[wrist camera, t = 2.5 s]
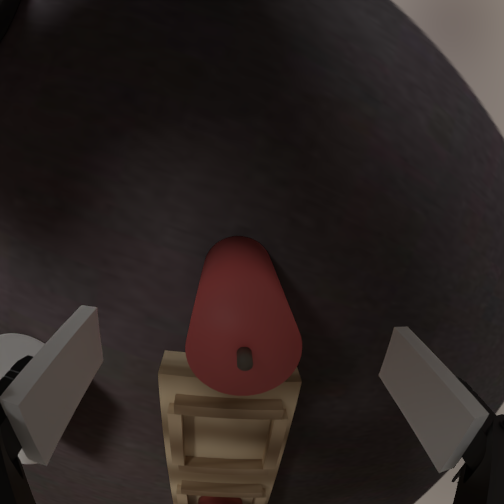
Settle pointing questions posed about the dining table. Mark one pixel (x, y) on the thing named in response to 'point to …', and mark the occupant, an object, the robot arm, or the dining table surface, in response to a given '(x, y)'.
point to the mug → (9, 352)
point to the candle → (241, 322)
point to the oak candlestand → (222, 436)
